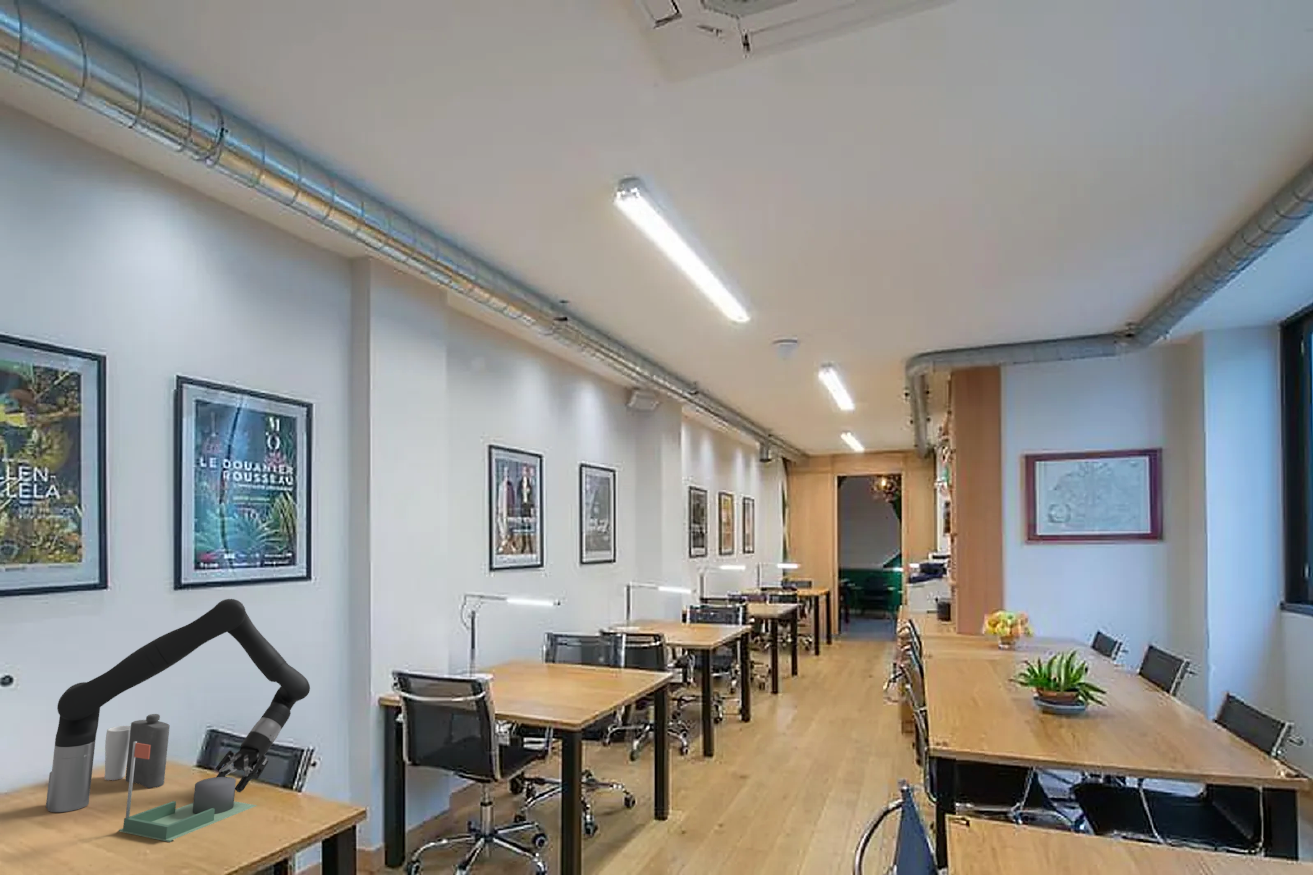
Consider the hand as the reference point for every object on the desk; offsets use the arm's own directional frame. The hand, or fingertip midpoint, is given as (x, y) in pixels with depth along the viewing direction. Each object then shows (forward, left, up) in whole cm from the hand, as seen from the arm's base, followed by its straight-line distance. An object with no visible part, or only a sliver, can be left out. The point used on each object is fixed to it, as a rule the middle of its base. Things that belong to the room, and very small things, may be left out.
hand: (225, 789), depth 220 cm
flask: (-38, +6, -5) cm, 39 cm away
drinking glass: (-50, +5, -5) cm, 50 cm away
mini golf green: (0, -11, -5) cm, 12 cm away
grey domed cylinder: (0, -4, -4) cm, 6 cm away
